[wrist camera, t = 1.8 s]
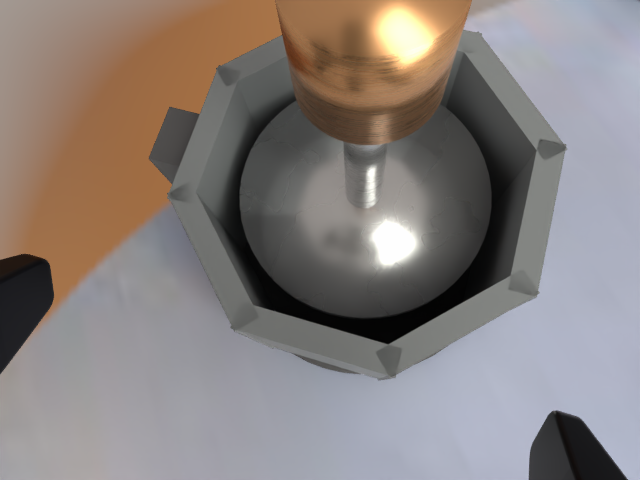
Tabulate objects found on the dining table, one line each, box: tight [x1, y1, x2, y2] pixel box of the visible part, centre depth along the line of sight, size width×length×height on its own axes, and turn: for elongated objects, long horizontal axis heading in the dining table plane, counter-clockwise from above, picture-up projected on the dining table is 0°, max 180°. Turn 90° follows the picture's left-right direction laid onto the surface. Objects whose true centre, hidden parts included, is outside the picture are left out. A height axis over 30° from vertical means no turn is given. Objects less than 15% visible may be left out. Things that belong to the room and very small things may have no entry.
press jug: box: [149, 30, 567, 380], centre depth 20 cm, size 12×13×8 cm
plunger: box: [240, 0, 492, 320], centre depth 13 cm, size 8×8×10 cm
